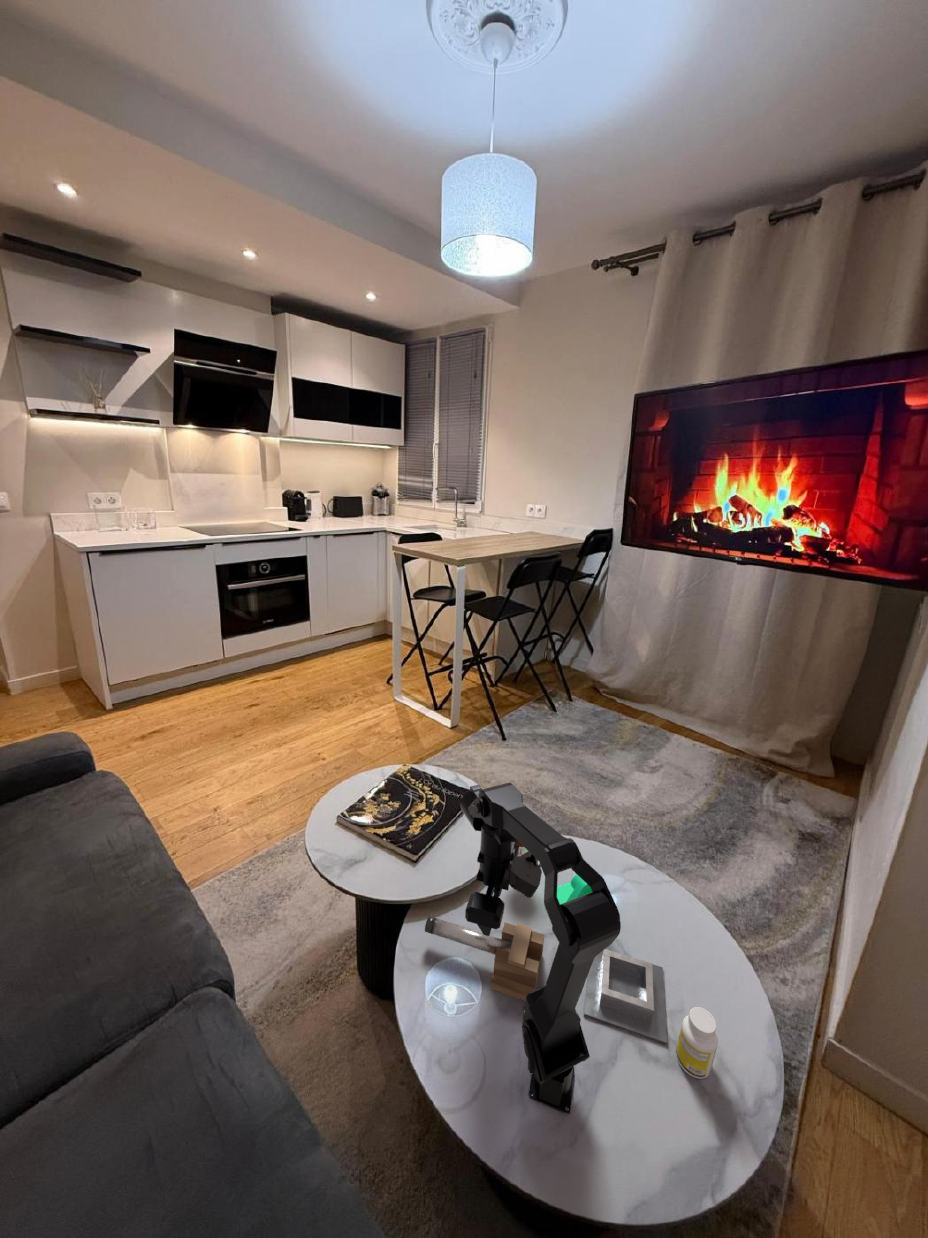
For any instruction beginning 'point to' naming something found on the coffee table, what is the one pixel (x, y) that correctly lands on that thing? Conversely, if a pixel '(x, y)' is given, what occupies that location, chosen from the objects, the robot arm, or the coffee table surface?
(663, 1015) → the socket
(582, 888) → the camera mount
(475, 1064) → the coffee table surface
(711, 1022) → the supplement bottle
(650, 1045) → the coffee table surface
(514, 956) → the mount
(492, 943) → the pin
